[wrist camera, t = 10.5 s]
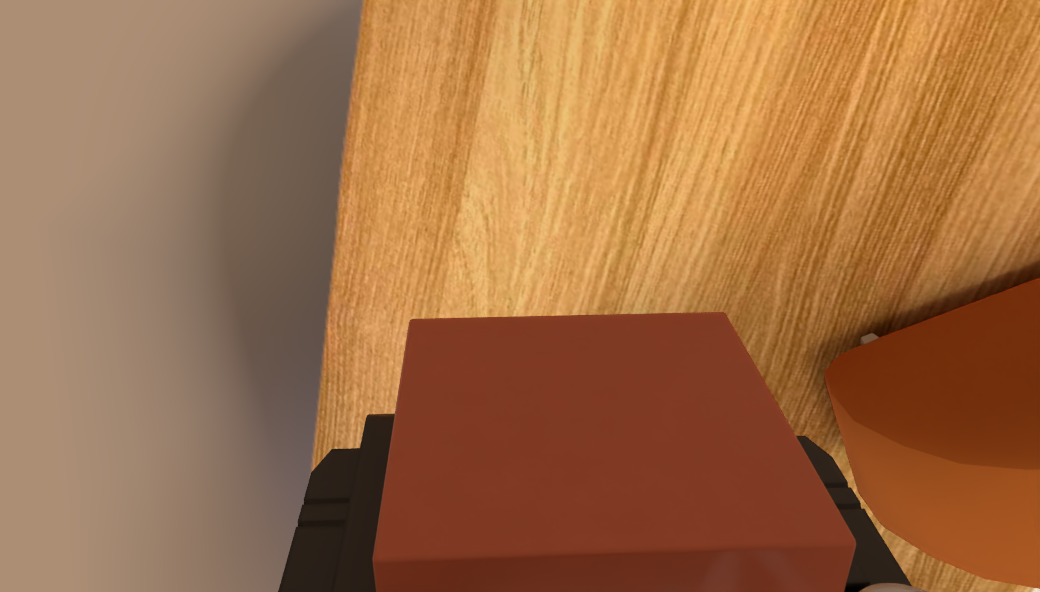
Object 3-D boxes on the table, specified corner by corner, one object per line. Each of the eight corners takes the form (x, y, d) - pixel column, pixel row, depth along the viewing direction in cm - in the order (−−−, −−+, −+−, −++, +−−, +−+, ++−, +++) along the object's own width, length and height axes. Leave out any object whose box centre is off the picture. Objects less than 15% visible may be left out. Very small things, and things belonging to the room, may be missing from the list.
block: (426, 553, 14) (404, 842, 9) (409, 317, 11) (370, 560, 7) (693, 544, 14) (785, 824, 10) (725, 310, 12) (860, 542, 8)
